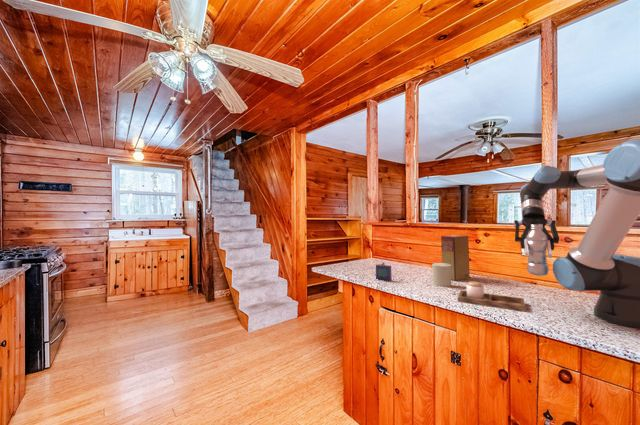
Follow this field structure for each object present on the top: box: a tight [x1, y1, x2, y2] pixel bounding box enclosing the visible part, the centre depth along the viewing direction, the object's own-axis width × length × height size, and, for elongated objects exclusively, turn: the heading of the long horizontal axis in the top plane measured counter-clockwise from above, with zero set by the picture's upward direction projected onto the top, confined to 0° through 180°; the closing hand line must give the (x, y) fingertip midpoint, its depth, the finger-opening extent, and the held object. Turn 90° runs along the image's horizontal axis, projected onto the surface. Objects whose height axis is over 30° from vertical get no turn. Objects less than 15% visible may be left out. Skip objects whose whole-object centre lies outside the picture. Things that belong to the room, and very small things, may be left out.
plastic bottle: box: [526, 224, 550, 277], centre depth 104 cm, size 6×7×20 cm
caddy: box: [457, 289, 527, 312], centre depth 112 cm, size 23×11×3 cm, turn 56°
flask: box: [375, 261, 393, 282], centre depth 155 cm, size 9×3×11 cm, turn 61°
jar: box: [466, 280, 485, 300], centre depth 115 cm, size 6×6×7 cm
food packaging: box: [440, 234, 471, 282], centre depth 156 cm, size 13×9×25 cm
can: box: [431, 262, 452, 288], centre depth 140 cm, size 9×9×12 cm
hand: (538, 255), depth 101 cm, fingers closed on plastic bottle, 6 cm apart
